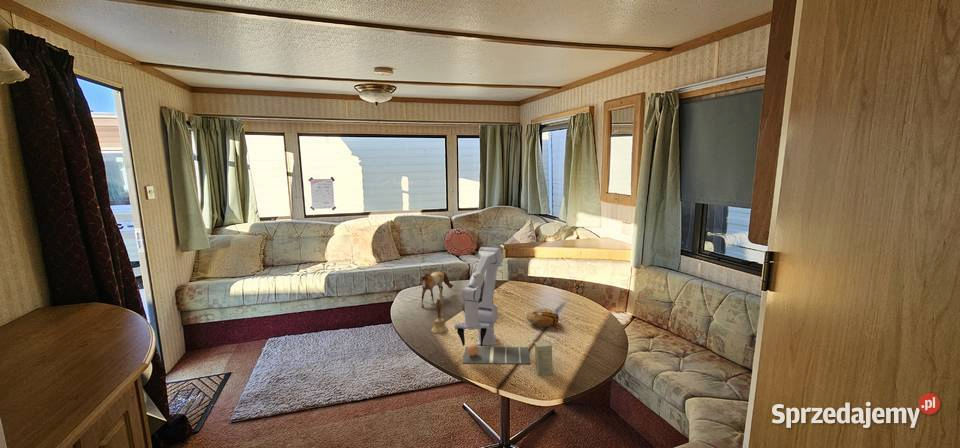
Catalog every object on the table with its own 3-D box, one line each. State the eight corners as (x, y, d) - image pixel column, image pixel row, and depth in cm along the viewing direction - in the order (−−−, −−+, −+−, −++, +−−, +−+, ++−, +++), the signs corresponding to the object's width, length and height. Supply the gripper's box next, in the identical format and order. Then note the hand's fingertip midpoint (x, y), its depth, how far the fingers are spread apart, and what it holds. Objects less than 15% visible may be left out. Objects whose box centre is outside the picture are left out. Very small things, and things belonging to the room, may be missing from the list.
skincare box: (550, 369, 156) (550, 340, 154) (552, 375, 152) (553, 345, 150) (534, 369, 156) (534, 341, 154) (536, 375, 151) (536, 346, 149)
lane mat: (465, 347, 176) (465, 346, 176) (528, 347, 174) (528, 346, 174) (462, 363, 162) (462, 362, 162) (530, 364, 160) (530, 363, 160)
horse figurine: (425, 311, 219) (423, 276, 216) (414, 309, 223) (412, 274, 219) (454, 293, 246) (453, 262, 243) (444, 292, 250) (442, 261, 247)
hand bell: (429, 328, 197) (428, 298, 194) (445, 325, 200) (444, 295, 197) (433, 335, 189) (432, 303, 187) (450, 331, 192) (448, 301, 190)
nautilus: (572, 331, 190) (548, 340, 183) (544, 314, 208) (521, 322, 201) (572, 316, 188) (548, 325, 181) (544, 300, 206) (521, 308, 199)
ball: (467, 352, 170) (467, 342, 169) (479, 352, 170) (478, 342, 169) (466, 358, 165) (466, 347, 164) (478, 358, 165) (478, 347, 164)
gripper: (453, 318, 161) (454, 349, 163) (488, 318, 160) (489, 349, 162) (455, 311, 168) (456, 341, 170) (489, 311, 167) (489, 341, 169)
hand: (472, 344), depth 167 cm, fingers open, 7 cm apart
